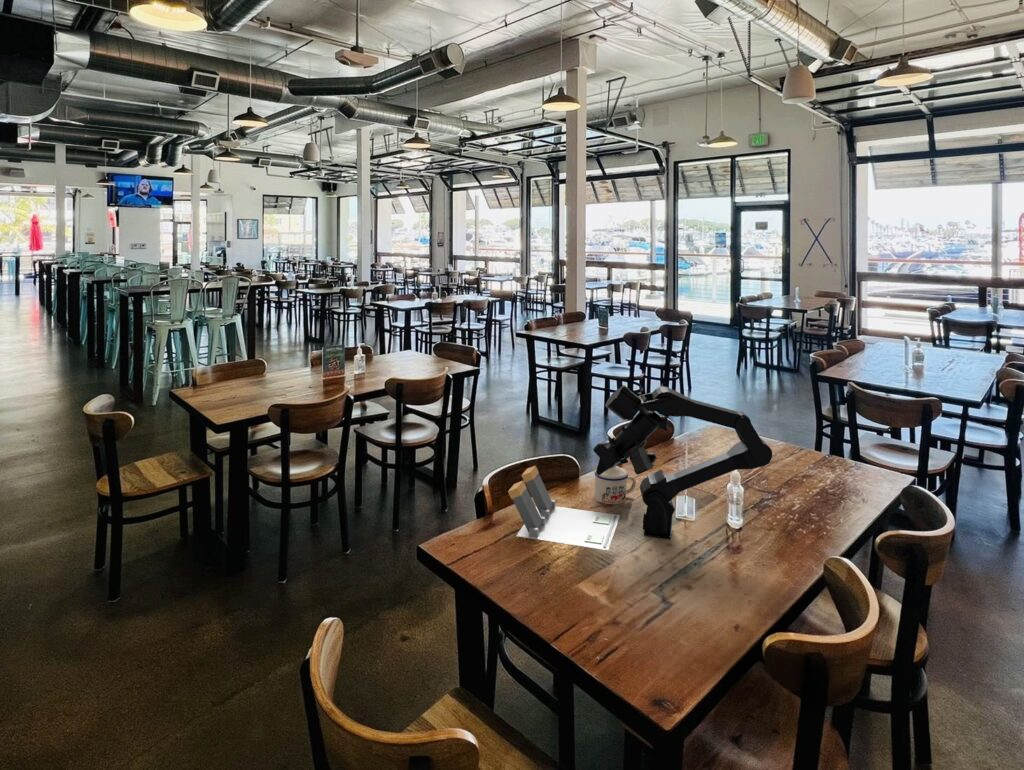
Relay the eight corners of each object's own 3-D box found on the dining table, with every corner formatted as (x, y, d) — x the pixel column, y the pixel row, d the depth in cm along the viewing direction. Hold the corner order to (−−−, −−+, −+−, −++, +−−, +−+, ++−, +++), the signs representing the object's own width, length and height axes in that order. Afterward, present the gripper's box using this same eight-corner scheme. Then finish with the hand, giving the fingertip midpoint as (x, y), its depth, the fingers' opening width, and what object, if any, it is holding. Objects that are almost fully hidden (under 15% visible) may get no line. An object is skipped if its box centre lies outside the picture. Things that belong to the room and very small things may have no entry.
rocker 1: (553, 503, 169) (535, 465, 168) (548, 511, 164) (530, 472, 163) (544, 506, 170) (526, 468, 169) (539, 514, 165) (521, 475, 164)
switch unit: (619, 520, 166) (620, 508, 165) (607, 556, 148) (608, 542, 147) (537, 509, 172) (537, 496, 172) (516, 541, 154) (516, 528, 153)
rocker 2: (542, 520, 158) (523, 480, 158) (537, 529, 154) (517, 488, 153) (533, 524, 159) (514, 483, 159) (528, 532, 154) (507, 491, 154)
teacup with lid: (600, 511, 172) (602, 469, 169) (588, 497, 181) (590, 458, 178) (641, 507, 175) (644, 466, 172) (627, 494, 184) (629, 455, 181)
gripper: (648, 460, 144) (604, 505, 150) (674, 450, 160) (633, 491, 166) (614, 425, 148) (573, 470, 154) (642, 418, 164) (604, 459, 170)
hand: (597, 473), depth 161 cm, fingers closed
